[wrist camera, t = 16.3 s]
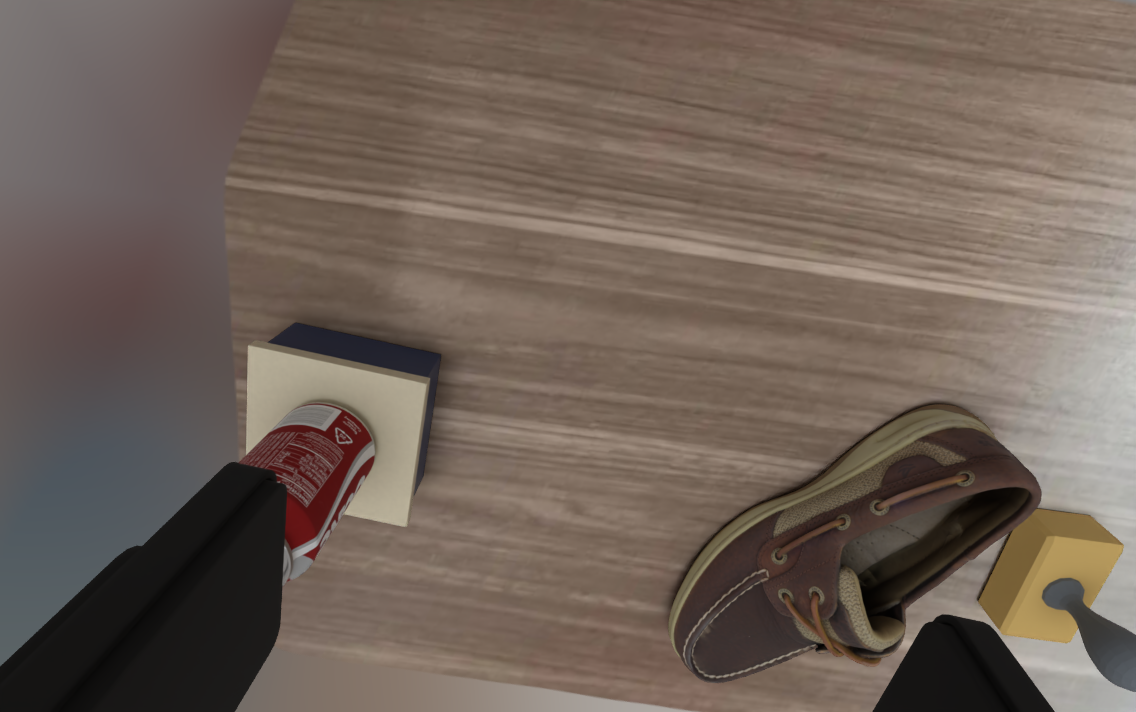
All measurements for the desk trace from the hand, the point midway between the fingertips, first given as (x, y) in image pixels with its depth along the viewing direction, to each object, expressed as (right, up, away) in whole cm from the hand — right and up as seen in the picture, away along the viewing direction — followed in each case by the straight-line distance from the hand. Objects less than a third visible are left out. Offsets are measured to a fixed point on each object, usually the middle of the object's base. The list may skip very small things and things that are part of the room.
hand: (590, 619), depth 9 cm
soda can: (-17, -2, +35) cm, 39 cm away
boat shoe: (+20, -11, +43) cm, 48 cm away
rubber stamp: (+38, -13, +43) cm, 58 cm away
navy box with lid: (-16, 0, +40) cm, 43 cm away
